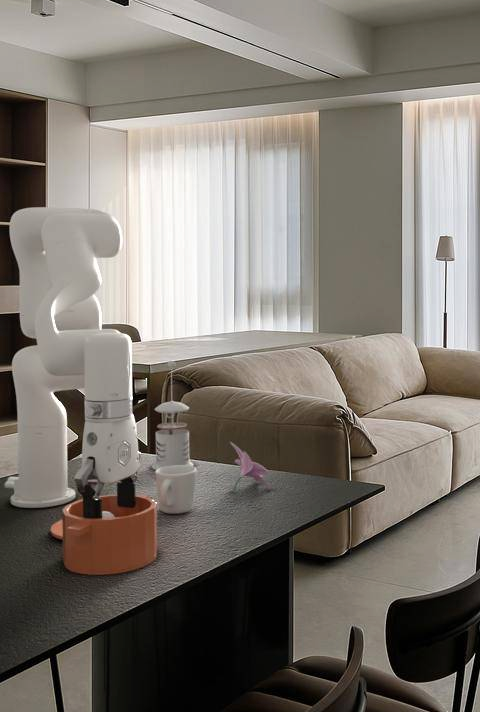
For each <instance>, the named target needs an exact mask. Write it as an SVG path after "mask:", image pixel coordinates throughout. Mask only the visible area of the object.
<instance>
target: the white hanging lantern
mask: <svg viewBox="0 0 480 712" xmlns="http://www.w3.org/2000/svg"><path fill="white" fill-rule="evenodd" d="M175 366H176V362H175V361H173V360H169V361H168V362H167V367H170V384H171V385H170V394H171V395H170V396H171V398H170V399H171V400H170V401H167V402H163V403H161V404H158V405H157V406H156V407H155V408H154V411H156V412H157V413H161V414H165V422H164V423H158V424H157V426H156V428H157V429H159V430H157V431H155V463H154V464H153V465H152V466H151V469H153V470H155V471H156V470H157V469H159V468H161V467H166V466H173V465H187V466H192V467H194V463H193V462H192V461H190V430H189V429H186V428H187V426H188V423H185V422H174V417H175V414H178V413H184V412H188V411H189V410H190V406H188V405H186V404H184V403H183V402H179V401H174V400H173V367H175ZM168 414H171V416H169V415H168ZM167 419H171V422H167V421H168V420H167ZM170 431H171V432H172V433H171V434H170Z"/></svg>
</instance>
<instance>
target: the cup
mask: <svg viewBox="0 0 480 712" xmlns="http://www.w3.org/2000/svg"><path fill="white" fill-rule="evenodd" d="M197 473H198V470H197V468H196V467H195V466H193V467H192V466H187V465H173V466H166V467H161V468H159V469H157V470H155V471H154V478H155V485H156V494H157V495H156V496H157V503H158V507H159V510H160V511H161V512H162V513H164V514H169V515H180V514H184V513H185V514H186V513H187V512H189V511H191V510H192V509H193V508H194V504H195V497H196V496H195V495H196V484H197Z"/></svg>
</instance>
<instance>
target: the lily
mask: <svg viewBox="0 0 480 712" xmlns="http://www.w3.org/2000/svg"><path fill="white" fill-rule="evenodd" d="M229 443H230V445H231V446H232V448H233V449H234V450H235V452H236V453H237V455H238V457H239V458H237V459H235V460H234V463H235V464H237V465H239V466H240V476H239V477H238V478H237V480H236V483H235V484H234V487H233V489H232V492H231V493H235V490H236V488H237V485H238V483H239V482H240V480H241V478H242V477H251V478H253V479H254V481H255V482H256V484H260V482H261V483H262V484H263V485H264V486H265V487H266V488H267V489H268V490H269V491H270V490H271V487H270V486H269V484H268V483H267V482H266V480H265V479H264V478H263V477H265V476H268V475H270V471H269V470H268V469H267V468H266V467H264V466H263V465H261V464H260V463H258V462H255V461H252V459H251V457H250V456H249V454H248V453H247V452H246V451H245V450H242V449H241V448H240V447H238V446H237V445H236V444H235V443H233V442H231V441H229Z"/></svg>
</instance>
